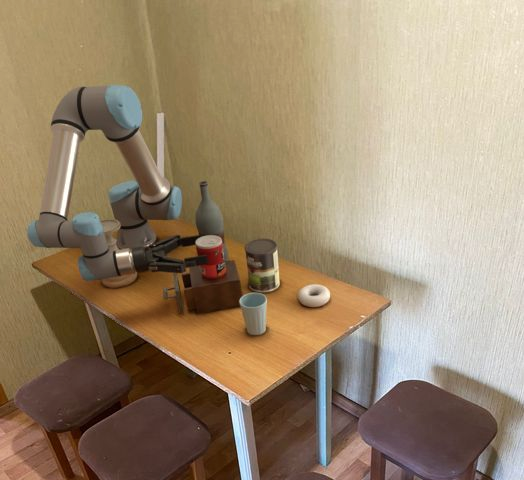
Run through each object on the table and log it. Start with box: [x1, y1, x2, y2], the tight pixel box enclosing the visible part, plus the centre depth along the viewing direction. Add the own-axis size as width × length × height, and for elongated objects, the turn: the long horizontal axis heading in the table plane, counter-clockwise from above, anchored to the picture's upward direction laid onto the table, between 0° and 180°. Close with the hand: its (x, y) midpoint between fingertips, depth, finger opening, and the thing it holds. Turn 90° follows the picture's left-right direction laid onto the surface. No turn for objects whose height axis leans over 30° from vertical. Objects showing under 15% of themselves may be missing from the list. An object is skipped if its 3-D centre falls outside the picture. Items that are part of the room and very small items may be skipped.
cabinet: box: [188, 259, 243, 315], centre depth 166 cm, size 15×13×10 cm
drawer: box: [162, 272, 196, 314], centre depth 165 cm, size 18×11×8 cm, turn 100°
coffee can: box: [244, 238, 281, 294], centre depth 169 cm, size 10×10×14 cm
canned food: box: [195, 235, 226, 279], centre depth 159 cm, size 8×8×11 cm
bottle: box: [194, 180, 229, 261], centre depth 177 cm, size 9×9×30 cm
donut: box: [297, 283, 331, 308], centre depth 163 cm, size 10×4×10 cm
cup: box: [239, 292, 268, 336], centre depth 151 cm, size 8×8×10 cm
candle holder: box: [100, 218, 138, 289], centre depth 178 cm, size 12×12×20 cm
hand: (204, 248), depth 158 cm, fingers open, 13 cm apart
